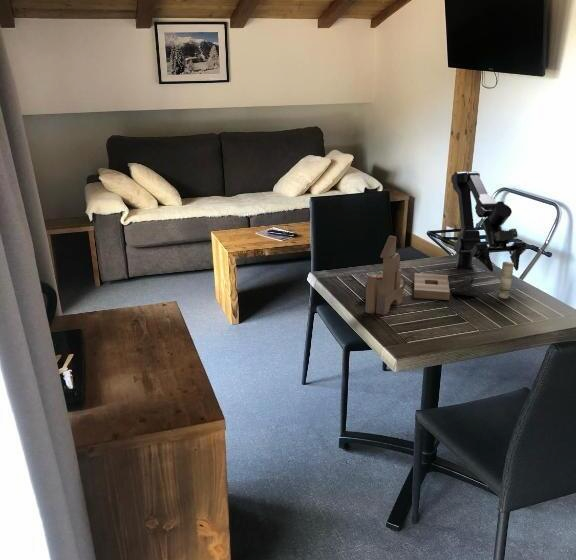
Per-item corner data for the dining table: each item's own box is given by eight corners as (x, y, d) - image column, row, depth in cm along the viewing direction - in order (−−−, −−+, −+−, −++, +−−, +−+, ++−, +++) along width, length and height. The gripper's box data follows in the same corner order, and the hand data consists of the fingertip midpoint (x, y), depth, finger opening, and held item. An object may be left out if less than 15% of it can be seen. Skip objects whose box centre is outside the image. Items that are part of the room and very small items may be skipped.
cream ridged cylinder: (497, 294, 204) (501, 261, 200) (508, 295, 203) (513, 261, 199) (498, 298, 201) (503, 264, 196) (510, 299, 200) (514, 265, 196)
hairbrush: (481, 272, 219) (475, 291, 197) (480, 281, 220) (474, 301, 198) (459, 270, 222) (450, 288, 200) (458, 279, 223) (449, 298, 201)
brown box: (414, 280, 218) (414, 273, 217) (446, 282, 216) (447, 275, 215) (413, 297, 201) (414, 289, 200) (449, 300, 199) (449, 292, 198)
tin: (401, 292, 206) (402, 270, 204) (405, 295, 204) (407, 273, 201) (363, 298, 201) (364, 275, 198) (368, 301, 199) (369, 278, 196)
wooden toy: (384, 298, 201) (389, 229, 192) (402, 302, 197) (407, 232, 189) (363, 312, 189) (366, 239, 181) (381, 317, 186) (386, 243, 177)
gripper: (477, 221, 199) (488, 261, 192) (528, 219, 201) (540, 258, 194) (466, 237, 209) (475, 275, 202) (514, 235, 211) (525, 273, 204)
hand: (504, 270), depth 200 cm, fingers open, 9 cm apart
